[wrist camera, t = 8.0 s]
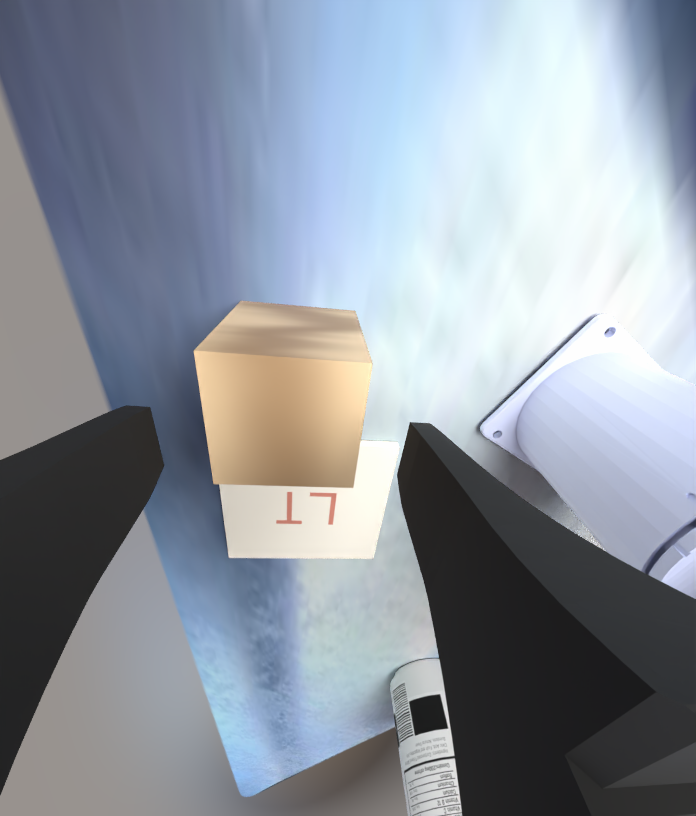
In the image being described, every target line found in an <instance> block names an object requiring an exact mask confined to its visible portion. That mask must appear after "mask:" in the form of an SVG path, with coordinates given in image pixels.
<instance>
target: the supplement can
mask: <svg viewBox="0 0 696 816" xmlns="http://www.w3.org/2000/svg"><path fill="white" fill-rule="evenodd" d="M390 691H391V698H392V705H393V712H394V719H395V727H396V734H397V740H398V748H399V755H400V762H401V769H402V776H403V783H404V791H405V797H406V805H407V812H408V816H462V810H461V801H460V794H459V786H458V779H457V771H456V764H455V756H454V749H453V742H452V735H451V728H450V722H449V715H448V709H447V702H446V696H445V689H444V683H443V677H442V671H441V666H440V660H439V659H437V658H431V659H423V660H418V661H415V662H411V663H409V664H407V665H405V666H403V667H401V668H400V669H399V670H398V671H396V672H395V676H394V678H393V679H392V680H391V684H390Z"/></svg>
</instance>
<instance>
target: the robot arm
mask: <svg viewBox="0 0 696 816" xmlns="http://www.w3.org/2000/svg"><path fill="white" fill-rule="evenodd" d="M608 328H609V331H608V332H607V333H606V334H604V333H605V331H606V330H607V329H608ZM480 431H481V433H482V434H483V435H484V436H485V437H486V438H488V439H489V440H491V441H493V442H494V443H496V444H497V445H499V446H500V447H502V448H503V449H505V450H506V451H508V452H510V453H511V454H513V455H514V456H516V457H517V458H519V459H520V460H522V461H523V462H525V463H526V464H528V465H530V466H531V467H533V468H534V469H536V470H537V471H539V472H540V473H541V474H542V475H543V477H544V478H545V479H546V480H547V481H548V482H549V484H550V485H551V486H552V487H553V488H554V490H555V491H556V492H557V493H558V494H559V496H560V497H561V498H562V499H563V500H564V502H565V503H566V504H567V505H568V506H569V508H570V509H571V510H572V511H573V512H574V514H575V515H576V516H577V517H578V518H579V519H580V521H581V522H582V523H583V524H584V525H585V527H586V528H587V529H588V530H589V531H590V533H591V534H592V535H593V536H594V537H595V539H596V540H597V541H598V542H599V543H600V545H601V546H602V547H603V548H604V549H605V551H604V550H602V549H600V548H599V547H597V546H595V545H594V544H592V543H590V542H588V541H587V540H585V539H583V538H582V537H580V536H578V535H577V534H575V533H573V532H572V531H570V530H569V529H567V528H565V527H564V526H562V525H561V524H559V523H558V522H556V521H555V520H553V519H552V518H550V517H549V516H547V515H546V514H544V513H543V512H541V511H540V510H538V509H537V508H535V507H534V506H532V505H531V504H529V503H528V502H526V501H525V500H524V499H522V498H521V497H519V496H518V495H517V494H515V493H514V492H513V491H511V490H510V489H509V488H508V487H506V486H505V485H504V484H502V483H501V482H500V481H498V480H497V479H496V478H495V477H493V476H492V475H491V474H490V473H488V472H487V471H486V470H485V469H483V468H482V467H481V466H480V465H479V464H477V463H476V462H475V461H474V460H473V459H472V458H470V457H469V456H468V455H467V454H466V453H465V452H463V451H462V450H461V449H460V448H459V447H458V446H456V445H455V444H454V443H453V442H452V441H451V440H450V439H448V438H447V437H446V436H445V435H444V434H443V433H442V432H440V431H439V430H438V429H437V428H435V427H434V426H433V425H432V424H429V423H412V422H410V425H409V429H408V433H407V437H406V441H405V445H404V449H403V453H402V457H401V461H400V465H399V469H398V473H397V478H398V485H399V492H400V498H401V504H402V508H403V512H404V515H405V519H406V522H407V526H408V529H409V533H410V536H411V539H412V543H413V546H414V550H415V553H416V556H417V560H418V563H419V566H420V570H421V573H422V577H423V580H424V584H425V588H426V592H427V596H428V601H429V606H430V611H431V616H432V622H433V627H434V632H435V637H436V643H437V648H438V654H439V660H440V666H441V671H442V677H443V683H444V689H445V696H446V702H447V709H448V715H449V722H450V728H451V735H452V742H453V749H454V756H455V764H456V771H457V779H458V786H459V794H460V801H461V810H462V816H696V385H695V384H693V383H691V382H689V381H686V380H684V379H682V378H680V377H678V376H675V375H673V374H671V373H669V372H667V371H665V370H663V369H662V368H661V367H660V366H659V365H658V364H657V363H656V362H655V361H654V360H653V359H652V358H651V357H650V356H649V355H648V354H647V352H646V351H645V350H644V349H643V348H642V347H641V346H640V345H639V344H638V343H637V342H636V341H635V340H634V339H633V338H632V337H631V336H630V335H629V333H628V332H627V331H626V330H625V329H624V328H623V327H622V326H621V325H620V324H619V323H618V322H617V321H616V320H615V319H614V318H613V317H612V316H610V315H607V314H599V315H597V316H596V317H594V318H593V319H592V320H591V321H590V322H589V323H588V324H586V325H585V326H584V327H583V328H582V329H581V330H580V331H579V332H578V333H577V334H576V335H575V336H574V337H573V338H572V339H571V340H570V341H569V342H568V343H566V344H565V345H564V346H563V347H562V348H561V349H560V350H559V351H558V352H557V353H556V354H555V355H554V356H553V357H552V358H551V359H550V360H549V361H548V362H546V363H545V364H544V365H543V366H542V367H541V368H540V369H539V370H538V371H537V372H536V373H535V374H534V375H533V376H532V377H531V378H530V379H529V380H528V381H526V382H525V383H524V384H523V385H522V386H521V387H520V388H519V389H518V390H517V391H516V392H515V393H514V394H513V395H512V396H511V397H510V398H509V399H507V400H506V401H505V402H504V403H503V404H502V405H501V406H500V407H499V408H498V409H497V410H496V411H495V412H494V413H493V414H492V415H491V416H490V417H489V418H487V419H486V420H485V421H484V422H483V423H482V425H481V426H480ZM496 431H498V432H497V433H496V434H494V432H496ZM163 467H164V463H163V458H162V454H161V450H160V446H159V442H158V438H157V433H156V429H155V425H154V421H153V417H152V413H151V408H150V407H142V406H124V407H121V408H118V409H115V410H113V411H110V412H108V413H105V414H103V415H101V416H99V417H97V418H94V419H92V420H90V421H87V422H85V423H83V424H81V425H79V426H77V427H74V428H72V429H70V430H68V431H66V432H63V433H61V434H59V435H57V436H55V437H52V438H50V439H48V440H46V441H44V442H42V443H39V444H37V445H35V446H33V447H30V448H28V449H26V450H23V451H21V452H19V453H16V454H14V455H12V456H9V457H7V458H5V459H2V460H0V795H1V792H2V790H3V787H4V785H5V782H6V780H7V777H8V775H9V772H10V770H11V767H12V764H13V762H14V760H15V757H16V755H17V753H18V750H19V748H20V746H21V743H22V741H23V739H24V736H25V734H26V732H27V729H28V727H29V725H30V722H31V720H32V718H33V715H34V713H35V711H36V709H37V706H38V704H39V702H40V699H41V697H42V695H43V693H44V690H45V688H46V686H47V684H48V682H49V680H50V678H51V675H52V673H53V671H54V669H55V667H56V665H57V663H58V660H59V658H60V656H61V654H62V652H63V650H64V648H65V645H66V643H67V641H68V639H69V637H70V635H71V633H72V631H73V629H74V627H75V625H76V623H77V621H78V619H79V617H80V615H81V613H82V611H83V609H84V607H85V605H86V602H87V601H88V599H89V597H90V595H91V594H92V592H93V590H94V588H95V587H96V585H97V583H98V581H99V580H100V578H101V576H102V575H103V573H104V571H105V570H106V568H107V567H108V565H109V563H110V562H111V560H112V558H113V557H114V555H115V554H116V552H117V550H118V549H119V547H120V546H121V544H122V543H123V541H124V539H125V538H126V536H127V534H128V533H129V531H130V530H131V528H132V526H133V525H134V523H135V522H136V520H137V518H138V517H139V515H140V514H141V512H142V510H143V509H144V507H145V505H146V504H147V502H148V500H149V499H150V497H151V494H152V492H153V490H154V488H155V486H156V484H157V481H158V479H159V477H160V474H161V472H162V469H163Z"/></svg>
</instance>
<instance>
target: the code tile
mask: <svg viewBox="0 0 696 816" xmlns="http://www.w3.org/2000/svg"><path fill="white" fill-rule="evenodd" d="M399 449H400V448H399V445H398V442H389V441H368V440H361V442H360V448H359V455H358V461H357V468H356V474H355V481H354V487H353V488H335V487H299V486H263V485H227V484H219V487H220V494H221V502H222V510H223V517H224V525H225V532H226V540H227V547H228V555H229V558H309V559H373V558H374V554H375V550H376V545H377V541H378V537H379V533H380V529H381V524H382V520H383V516H384V512H385V508H386V503H387V499H388V495H389V491H390V487H391V483H392V478H393V474H394V470H395V466H396V462H397V457H398V453H399Z"/></svg>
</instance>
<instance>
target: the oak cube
mask: <svg viewBox="0 0 696 816" xmlns="http://www.w3.org/2000/svg"><path fill="white" fill-rule="evenodd" d="M194 356H195V363H196V369H197V376H198V383H199V390H200V396H201V403H202V410H203V417H204V423H205V430H206V437H207V443H208V450H209V457H210V464H211V470H212V477H213V484H227V485H263V486H299V487H335V488H353V487H354V481H355V474H356V468H357V461H358V455H359V448H360V442H361V435H362V429H363V422H364V416H365V409H366V403H367V396H368V390H369V383H370V377H371V370H372V364H373V363H372V360H371V357H370V354H369V351H368V348H367V345H366V342H365V339H364V336H363V333H362V330H361V327H360V324H359V321H358V318H357V315H356V312H355V311H351V310H339V309H328V308H317V307H306V306H294V305H283V304H272V303H261V302H249V301H240V302H239V303H238V304H237V306H236V307H235V308H234V309H233V310H232V311H231V312H230V313H229V314H228V315H227V316H226V317H225V318H224V319H223V320H222V321H221V322H220V323H219V324H218V326H217V327H216V328H215V329H214V330H213V331H212V332H211V333H210V334H209V335H208V336H207V337H206V338H205V339H204V340H203V341H202V342H201V343H200V345H199V346H198V347H197V348H196V349H195V350H194Z"/></svg>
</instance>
